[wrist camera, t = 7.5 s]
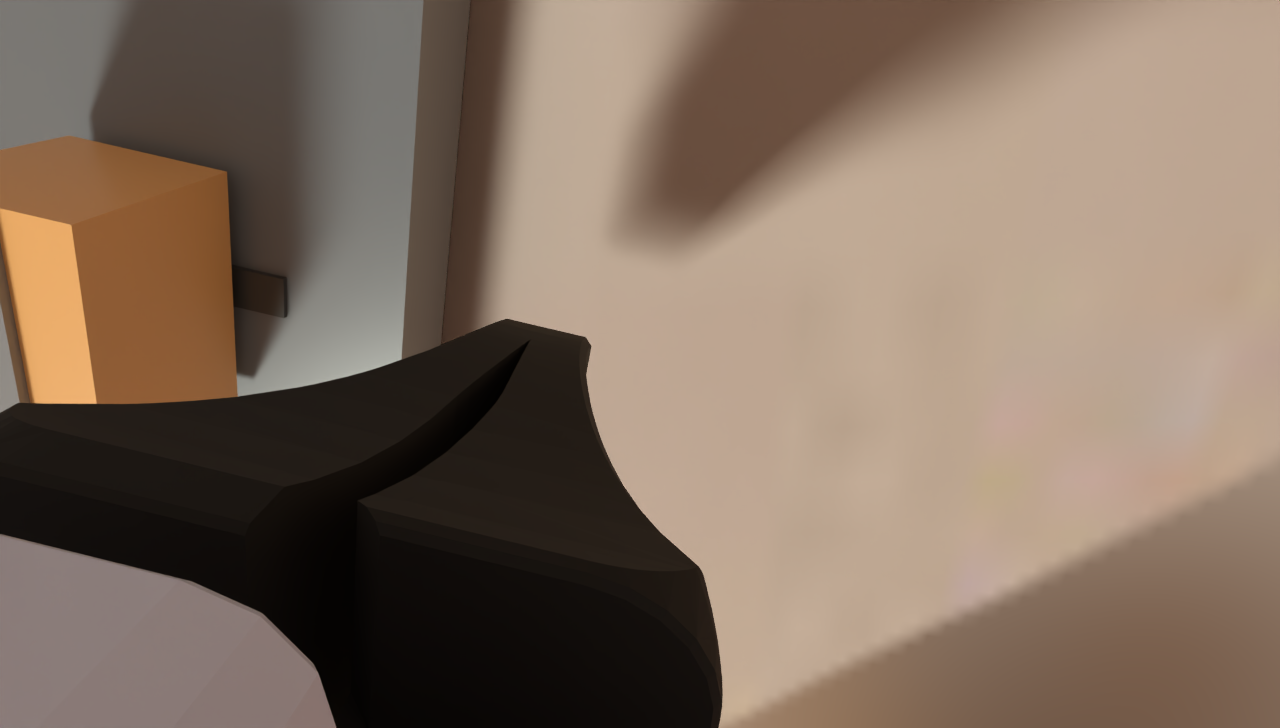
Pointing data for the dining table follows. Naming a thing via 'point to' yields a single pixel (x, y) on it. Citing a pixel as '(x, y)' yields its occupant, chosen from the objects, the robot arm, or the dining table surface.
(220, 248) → the block
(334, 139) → the console
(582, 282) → the dining table surface
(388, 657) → the robot arm
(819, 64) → the dining table surface
